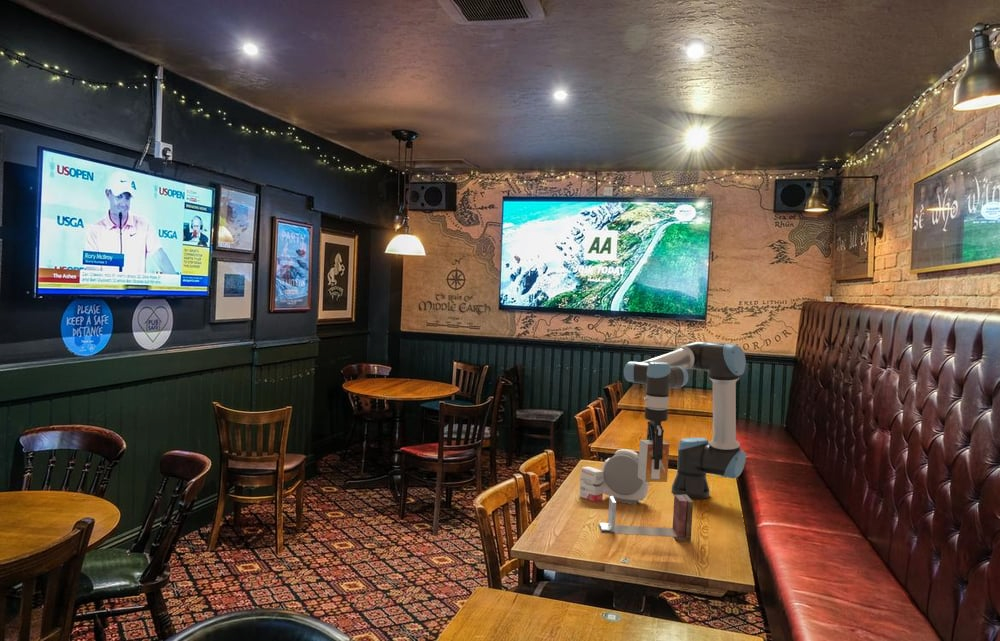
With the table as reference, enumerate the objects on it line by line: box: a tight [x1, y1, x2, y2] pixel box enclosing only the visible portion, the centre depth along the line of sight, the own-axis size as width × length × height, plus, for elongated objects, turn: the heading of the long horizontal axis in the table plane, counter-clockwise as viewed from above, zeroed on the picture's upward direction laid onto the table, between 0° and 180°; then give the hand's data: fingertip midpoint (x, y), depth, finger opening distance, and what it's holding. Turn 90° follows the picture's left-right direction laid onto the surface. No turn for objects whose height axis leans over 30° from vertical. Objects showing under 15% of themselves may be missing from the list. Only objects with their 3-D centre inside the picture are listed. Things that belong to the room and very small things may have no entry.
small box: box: [638, 439, 670, 483], centre depth 220 cm, size 8×6×13 cm
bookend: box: [599, 496, 617, 532], centre depth 221 cm, size 4×7×10 cm, turn 179°
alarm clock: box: [601, 448, 650, 506], centre depth 257 cm, size 18×8×20 cm, turn 64°
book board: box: [597, 494, 694, 543], centre depth 221 cm, size 30×8×14 cm, turn 89°
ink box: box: [579, 466, 604, 503], centre depth 258 cm, size 8×5×12 cm, turn 38°
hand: (652, 474), depth 220 cm, fingers closed on small box, 7 cm apart
